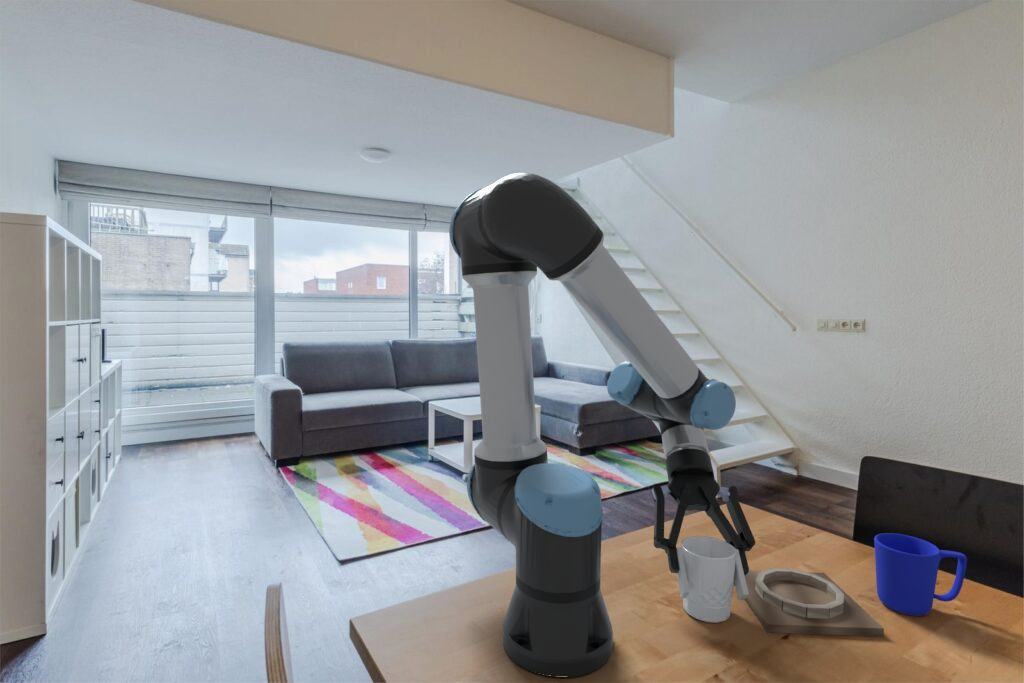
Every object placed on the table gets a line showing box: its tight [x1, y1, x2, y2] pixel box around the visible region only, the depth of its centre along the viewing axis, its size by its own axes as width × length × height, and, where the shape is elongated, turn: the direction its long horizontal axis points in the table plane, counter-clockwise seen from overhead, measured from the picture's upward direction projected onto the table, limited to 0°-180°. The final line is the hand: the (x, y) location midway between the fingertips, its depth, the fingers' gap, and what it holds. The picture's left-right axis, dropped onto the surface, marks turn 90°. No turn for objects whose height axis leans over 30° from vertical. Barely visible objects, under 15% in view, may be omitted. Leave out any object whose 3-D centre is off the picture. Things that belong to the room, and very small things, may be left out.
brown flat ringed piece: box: [734, 567, 885, 638], centre depth 83 cm, size 16×16×3 cm
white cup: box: [680, 535, 736, 624], centre depth 81 cm, size 8×8×10 cm
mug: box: [873, 532, 968, 617], centre depth 82 cm, size 8×12×10 cm
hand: (714, 596), depth 78 cm, fingers closed on white cup, 8 cm apart
